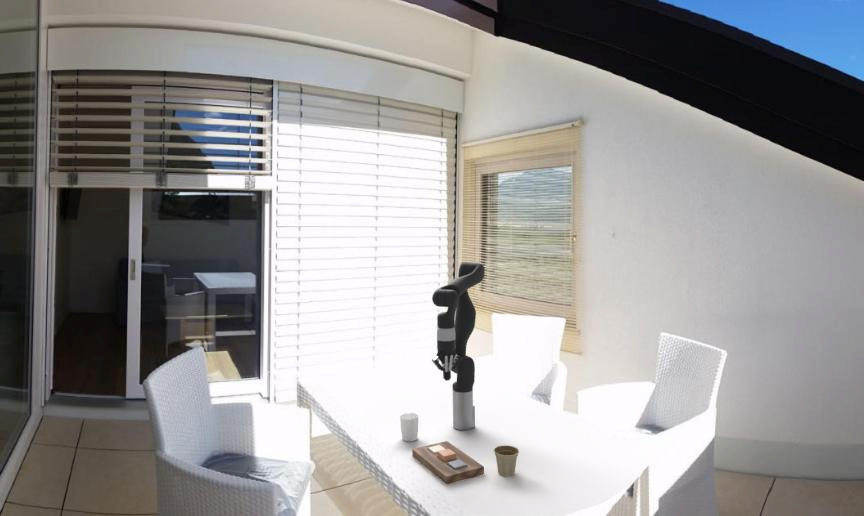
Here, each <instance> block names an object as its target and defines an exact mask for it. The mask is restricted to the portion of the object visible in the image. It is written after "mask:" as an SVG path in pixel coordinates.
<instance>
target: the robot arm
mask: <svg viewBox="0 0 864 516" xmlns="http://www.w3.org/2000/svg"><path fill="white" fill-rule="evenodd" d="M485 273H486V272H485V267H484V264H483V263H479V262H473V261H472V262H471V261H462V262H461V263H459V267H458V277H455V278H454V279H453V280H451V281H450V282H449V283H448V284H445V285H443V286H440V287H439V288H437V289H436V290H435V291H434V292H433V293H432V297H431V300H432V303H433V305H434V306H436V307H440V308H447V310H446V311H443V312H440V313H438V314H437V317H436V319H437V325H436V326H437V330H436V348H437V350H436V351H437V353H436V356H435V358H431V362H432V363H433V365H435V366H436V368H437V369H438V370H439V371H441V372H442V378H443V380H444V381H446V382H447V381H450V380H451V378H452V372H453V373H454V374H456V381H454V382H453V383H452V388H451V389H452V428H454V429H456V430H458V431H459V430H460V431H467V430H472V429H473V428H474V427H476V406H475V405H474V395H473V394H474V386H475V385H474V384H475V380H476V379H475V377H476V376H475V375H476V374H475V372H476V366H475V361H474V359H473V358H472V357H471V356H468V355H467V353H466V352H467V344H468V342H469V339H470V337H471V335H472V333H473V332H474V329H475V327H476V318H477V317H476V316H477V311H476V308H475V305H474V303H473V301H472V300H471V298H470V297H471V296H470V295H469V291H468V290H469V289H470V288H473V287H475V286H476V285H478V284H480V283H481V282H483V280H484V277H485Z"/></svg>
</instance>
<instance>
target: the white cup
mask: <svg viewBox="0 0 864 516" xmlns="http://www.w3.org/2000/svg"><path fill="white" fill-rule="evenodd" d="M399 418H400V430H401V431H400V432H401V439H402V441H404V440H405V442H414V440H415V441H417V440H418V439H417V438H418V433H419V414H418V413H414V412H407V413H402V414H401V415H400V417H399ZM416 439H417V440H416Z"/></svg>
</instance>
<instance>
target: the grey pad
mask: <svg viewBox="0 0 864 516" xmlns="http://www.w3.org/2000/svg"><path fill="white" fill-rule="evenodd" d="M448 466H449V467H451V468H452V469H453V470H457V469H461V468H465V467H467V464H465V463H464V462H463V461H461V460H460V459H459V460H455V461H451V462H448Z"/></svg>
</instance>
